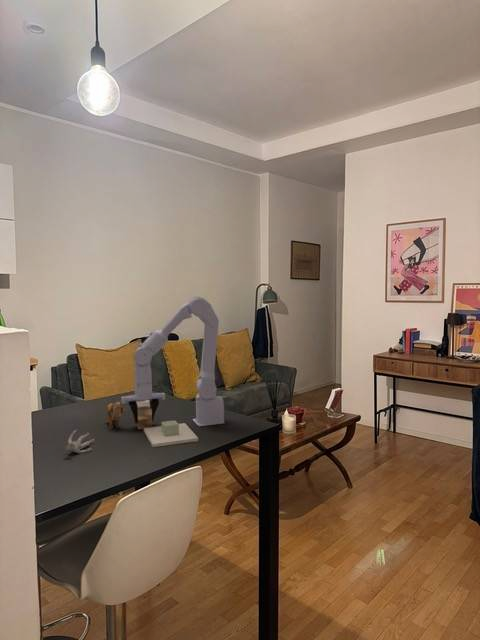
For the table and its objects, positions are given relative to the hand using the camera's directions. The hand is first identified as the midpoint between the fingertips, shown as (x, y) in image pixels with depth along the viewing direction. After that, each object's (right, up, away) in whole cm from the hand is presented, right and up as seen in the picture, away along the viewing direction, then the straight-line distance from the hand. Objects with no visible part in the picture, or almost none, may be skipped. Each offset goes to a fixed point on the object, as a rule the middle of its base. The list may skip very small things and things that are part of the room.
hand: (144, 421), depth 155 cm
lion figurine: (-11, -2, +2) cm, 11 cm away
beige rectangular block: (-5, -1, +19) cm, 20 cm away
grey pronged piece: (-15, -4, -21) cm, 26 cm away
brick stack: (0, -2, 0) cm, 2 cm away
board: (+10, -2, -10) cm, 14 cm away
